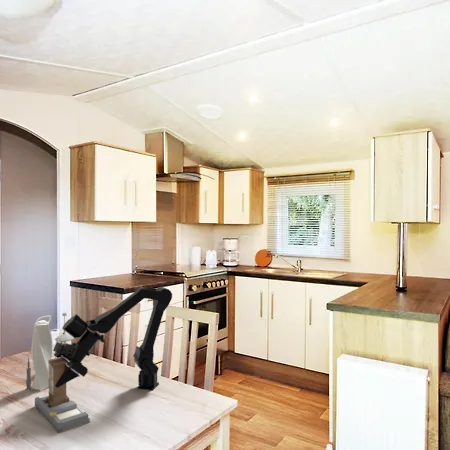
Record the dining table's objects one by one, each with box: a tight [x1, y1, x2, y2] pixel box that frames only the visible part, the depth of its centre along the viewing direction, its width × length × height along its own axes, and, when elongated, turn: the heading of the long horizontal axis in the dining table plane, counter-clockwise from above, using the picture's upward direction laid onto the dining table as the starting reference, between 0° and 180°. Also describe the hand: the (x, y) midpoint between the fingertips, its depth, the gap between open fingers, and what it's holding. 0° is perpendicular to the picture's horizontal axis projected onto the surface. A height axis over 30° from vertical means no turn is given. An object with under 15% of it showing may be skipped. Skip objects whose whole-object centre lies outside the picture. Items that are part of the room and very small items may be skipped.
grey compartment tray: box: [34, 395, 91, 434], centre depth 133 cm, size 24×10×4 cm, turn 41°
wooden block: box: [45, 357, 70, 407], centre depth 138 cm, size 6×6×14 cm
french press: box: [54, 312, 75, 367], centre depth 176 cm, size 10×12×25 cm
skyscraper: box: [25, 314, 53, 394], centre depth 155 cm, size 8×8×28 cm
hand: (53, 384), depth 137 cm, fingers closed on wooden block, 6 cm apart
